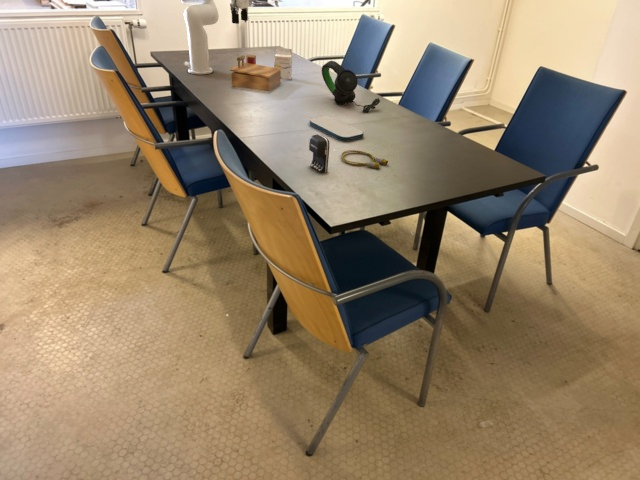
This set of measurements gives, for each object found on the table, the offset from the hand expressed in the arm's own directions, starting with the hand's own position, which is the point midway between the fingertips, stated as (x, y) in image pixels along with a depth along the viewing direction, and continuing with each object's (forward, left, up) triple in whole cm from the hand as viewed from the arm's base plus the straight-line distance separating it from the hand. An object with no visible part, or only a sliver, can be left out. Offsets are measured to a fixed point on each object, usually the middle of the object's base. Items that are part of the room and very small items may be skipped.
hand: (240, 21), depth 225 cm
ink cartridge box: (+14, +19, -28) cm, 37 cm away
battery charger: (+63, -82, -28) cm, 107 cm away
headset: (+55, -9, -28) cm, 63 cm away
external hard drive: (+59, -44, -28) cm, 79 cm away
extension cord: (+75, -69, -28) cm, 106 cm away
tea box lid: (+7, 0, -21) cm, 22 cm away
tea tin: (-1, +13, -28) cm, 31 cm away
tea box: (+8, 0, -28) cm, 29 cm away
